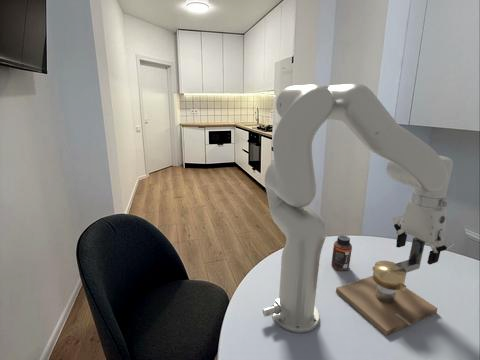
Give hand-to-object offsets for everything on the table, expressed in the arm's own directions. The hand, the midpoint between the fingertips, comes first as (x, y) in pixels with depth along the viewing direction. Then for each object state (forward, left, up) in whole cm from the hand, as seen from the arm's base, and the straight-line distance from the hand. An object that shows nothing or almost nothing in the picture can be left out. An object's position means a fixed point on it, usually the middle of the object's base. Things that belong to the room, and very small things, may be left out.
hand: (415, 254), depth 83 cm
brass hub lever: (-6, 0, -6) cm, 9 cm away
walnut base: (-10, 0, -14) cm, 17 cm away
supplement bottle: (-9, +19, -14) cm, 25 cm away
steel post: (-10, 0, -12) cm, 16 cm away
